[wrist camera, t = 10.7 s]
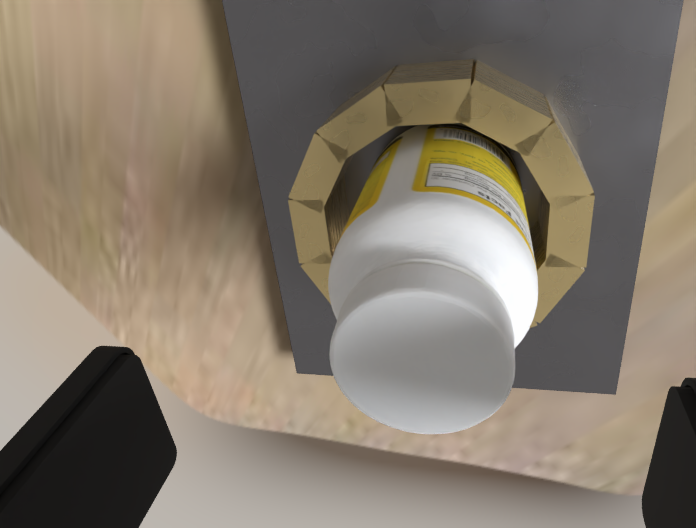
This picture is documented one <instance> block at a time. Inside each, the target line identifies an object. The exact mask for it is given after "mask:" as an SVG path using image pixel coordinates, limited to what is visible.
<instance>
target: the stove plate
mask: <svg viewBox="0 0 696 528" xmlns="http://www.w3.org/2000/svg"><path fill="white" fill-rule="evenodd" d="M222 2H223V7H224V12H225V17H226V22H227V27H228V32H229V37H230V42H231V47H232V52H233V57H234V62H235V67H236V72H237V77H238V82H239V87H240V92H241V97H242V102H243V107H244V112H245V117H246V122H247V127H248V132H249V137H250V142H251V147H252V152H253V157H254V162H255V167H256V172H257V177H258V182H259V187H260V192H261V197H262V202H263V207H264V212H265V217H266V222H267V227H268V232H269V237H270V242H271V247H272V252H273V257H274V262H275V267H276V272H277V277H278V282H279V287H280V292H281V296H282V301H283V306H284V311H285V316H286V321H287V326H288V331H289V336H290V341H291V346H292V351H293V356H294V361H295V366H296V371H297V373H301V374H316V375H331V376H333V373H332V369H331V365H330V356H329V353H330V343H331V338H332V335H333V331H334V329H335V326H336V323H337V319H336V317H335V314H334V312H333V309H332V306H331V302H330V297H329V289H328V278H329V269H330V265H331V260H332V258H333V255H334V251H335V249H336V246H337V244H338V241H339V239H340V237H341V235H342V233H343V230H344V228H345V226H346V224H347V222H348V220H349V217H350V215H351V213H352V211H353V209H354V207H355V205H356V203H357V201H358V198H359V196H360V194H361V192H362V190H363V188H364V185H365V183H366V181H367V179H368V176H369V174H370V172H371V170H372V168H373V166H374V164H375V162H376V161H377V159H378V157H379V156H380V154H381V153H382V152H383V150H384V149H385V148H386V147H387V146H388V144H389V143H390V142H392V141H393V140H394V139H395V138H396V137H397V136H399V135H400V134H402V133H404V132H405V131H407V130H409V129H411V128H413V127H415V126H418V125H428V124H448V123H462V124H464V125H466V126H468V127H470V128H472V129H474V130H476V131H478V132H480V133H482V134H484V135H486V136H488V137H490V138H492V139H494V140H496V141H498V142H500V143H501V144H502V146H503V147H504V148H505V149H506V150H507V152H508V153H509V155H510V156H511V158H512V160H513V162H514V164H515V166H516V169H517V171H518V174H519V177H520V181H521V185H522V191H523V196H524V202H525V207H526V213H527V218H528V224H529V230H530V235H531V241H532V246H533V252H534V258H535V262H536V269H537V276H538V302H537V307H536V311H535V315H534V319H533V321H532V323H531V325H530V328H529V330H528V332H527V333H526V335H525V337H524V338H523V339H522V341H521V342H520V343H519V344H518V346H517V347H516V348H515V377H514V382H513V385H512V388H526V389H541V390H556V391H571V392H586V393H601V394H616V390H617V384H618V378H619V373H620V367H621V361H622V355H623V349H624V344H625V338H626V332H627V326H628V320H629V314H630V309H631V303H632V297H633V291H634V285H635V279H636V274H637V268H638V262H639V256H640V250H641V245H642V239H643V233H644V227H645V221H646V215H647V210H648V204H649V198H650V192H651V186H652V180H653V175H654V169H655V163H656V157H657V151H658V146H659V140H660V134H661V128H662V122H663V116H664V111H665V105H666V99H667V93H668V87H669V81H670V76H671V70H672V64H673V58H674V52H675V47H676V41H677V35H678V29H679V23H680V17H681V12H682V6H683V0H222Z"/></svg>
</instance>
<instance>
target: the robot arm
mask: <svg viewBox="0 0 696 528" xmlns="http://www.w3.org/2000/svg"><path fill="white" fill-rule="evenodd" d="M176 456H177V450H176V446H175V444H174V441H173V438H172V436H171V434H170V431H169V428H168V426H167V424H166V421H165V419H164V416H163V414H162V411H161V409H160V406H159V404H158V401H157V399H156V396H155V394H154V391H153V389H152V386H151V384H150V381H149V379H148V376H147V374H146V371H145V369H144V367H143V364H142V362H141V360H140V358H139V357H138V356H137V355H135V354H134V352H133V351H132V350H131V349H130V348H128V347H115V346H114V347H113V346H99V347H96V348H95V349H94V350H93V351H92V352H91V353H90V354H89V355H88V356H87V357H86V358H85V359H84V360H83V362H82V363H81V364H80V365H79V366H78V367H77V368H76V369H75V370H74V371H73V372H72V374H71V375H70V376H69V377H68V378H67V379H66V380H65V381H64V382H63V383H62V384H61V386H60V387H59V388H58V389H57V390H56V391H55V392H54V393H53V394H52V395H51V396H50V397H49V399H48V400H47V401H46V402H45V403H44V404H43V405H42V406H41V407H40V408H39V410H37V412H36V413H35V414H34V415H33V416H32V417H31V418H30V419H29V420H28V421H27V422H26V424H25V425H24V426H23V427H22V428H21V429H20V430H19V431H18V432H17V434H16V435H15V436H14V437H13V438H12V439H11V440H10V441H9V442H8V443H7V444H6V445H5V446H4V447H3V449H2V450H1V451H0V528H139V526H140V524H141V522H142V521H143V518H144V517H145V515H146V514H147V512H148V510H149V508H150V507H151V505H152V503H153V501H154V500H155V498H156V496H157V494H158V493H159V491H160V489H161V487H162V485H163V484H164V482H165V480H166V479H167V477H168V475H169V473H170V472H171V470H172V468H173V466H174V464H175V461H176ZM642 511H643V518H644V522H645V525H646V528H696V378H685V379H684V380H683V382H682V385H681V387H675V386H672V387H671V388H670V389H669V391H668V395H667V399H666V403H665V407H664V411H663V415H662V419H661V423H660V427H659V431H658V435H657V439H656V443H655V447H654V451H653V455H652V459H651V463H650V467H649V471H648V475H647V479H646V483H645V487H644V491H643V495H642Z"/></svg>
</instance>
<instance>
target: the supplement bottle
mask: <svg viewBox="0 0 696 528" xmlns="http://www.w3.org/2000/svg"><path fill="white" fill-rule="evenodd" d="M328 289H329V297H330V302H331V306H332V309H333V312H334V314H335V317H336V319H337V323H336V326H335V329H334V331H333V335H332V338H331V343H330V353H329V356H330V365H331V369H332V373H333V376H334V378H335V380H336V382H337V384H338V386H339V388H340V389H341V391H342V392H343V394H344V395H345V396H346V397H347V398H348V400H349V401H350V402H351V403H352V404H353V405H354V406H355V407H357V408H358V409H359V410H360V411H361V412H363V413H364V414H366V415H367V416H369V417H370V418H372V419H374V420H376V421H378V422H380V423H382V424H384V425H387V426H389V427H392V428H395V429H399V430H403V431H406V432H412V433H418V434H444V433H452V432H457V431H461V430H464V429H467V428H470V427H472V426H474V425H477V424H479V423H480V422H482V421H484V420H486V419H487V418H489V417H490V416H491V415H492V414H494V413H495V412H496V411H497V410H498V409H499V408H500V407H501V406H502V405H503V403H504V402H505V400H506V399H507V397H508V395H509V393H510V391H511V388H512V385H513V382H514V377H515V348H516V347H517V346H518V344H519V343H520V342H521V341H522V339H523V338H524V337H525V335H526V333H527V332H528V330H529V328H530V325H531V323H532V321H533V319H534V315H535V311H536V307H537V302H538V276H537V269H536V262H535V258H534V252H533V246H532V241H531V235H530V230H529V224H528V218H527V213H526V207H525V202H524V196H523V191H522V185H521V181H520V177H519V174H518V171H517V169H516V166H515V164H514V162H513V160H512V158H511V156H510V155H509V153H508V152H507V150H506V149H505V148H504V147H503V146H502V144H501V143H500V142H498V141H496V140H494V139H492V138H490V137H488V136H486V135H484V134H482V133H480V132H478V131H476V130H474V129H472V128H470V127H468V126H466V125H464V124H462V123H448V124H428V125H418V126H415V127H413V128H411V129H409V130H407V131H405V132H404V133H402V134H400V135H399V136H397V137H396V138H395V139H394V140H393V141H392V142H390V143H389V144H388V146H387V147H386V148H385V149H384V150H383V152H382V153H381V154H380V156H379V157H378V159H377V161H376V162H375V164H374V166H373V168H372V170H371V172H370V174H369V176H368V179H367V181H366V183H365V185H364V188H363V190H362V192H361V194H360V196H359V198H358V201H357V203H356V205H355V207H354V209H353V211H352V213H351V215H350V217H349V220H348V222H347V224H346V226H345V228H344V230H343V233H342V235H341V237H340V239H339V241H338V244H337V246H336V249H335V251H334V255H333V258H332V260H331V265H330V269H329V278H328Z"/></svg>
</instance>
